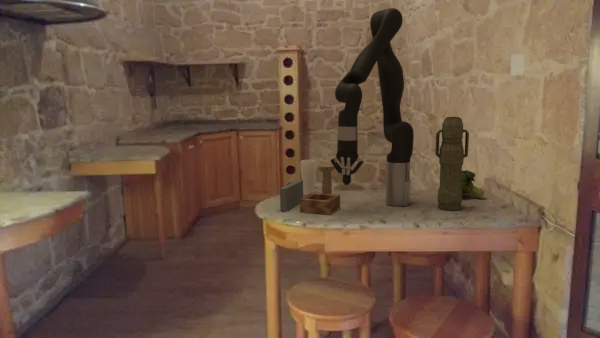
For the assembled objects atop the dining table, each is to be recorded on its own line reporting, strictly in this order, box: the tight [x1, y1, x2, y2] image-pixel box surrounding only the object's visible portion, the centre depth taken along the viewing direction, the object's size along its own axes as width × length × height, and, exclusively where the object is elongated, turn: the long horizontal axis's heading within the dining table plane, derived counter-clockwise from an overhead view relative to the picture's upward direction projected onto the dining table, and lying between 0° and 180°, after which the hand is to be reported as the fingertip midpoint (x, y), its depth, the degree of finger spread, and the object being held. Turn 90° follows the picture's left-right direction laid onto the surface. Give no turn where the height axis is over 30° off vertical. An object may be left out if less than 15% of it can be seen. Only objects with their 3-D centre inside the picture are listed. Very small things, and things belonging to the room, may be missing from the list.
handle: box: [318, 164, 336, 194], centre depth 196 cm, size 5×6×15 cm
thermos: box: [435, 116, 470, 212], centre depth 181 cm, size 9×12×35 cm
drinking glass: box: [299, 159, 317, 196], centre depth 209 cm, size 7×7×15 cm
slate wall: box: [279, 179, 304, 213], centre depth 190 cm, size 2×17×9 cm, turn 157°
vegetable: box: [461, 169, 486, 200], centre depth 200 cm, size 12×13×15 cm
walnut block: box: [299, 192, 341, 216], centre depth 185 cm, size 12×12×5 cm
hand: (346, 184), depth 179 cm, fingers closed
